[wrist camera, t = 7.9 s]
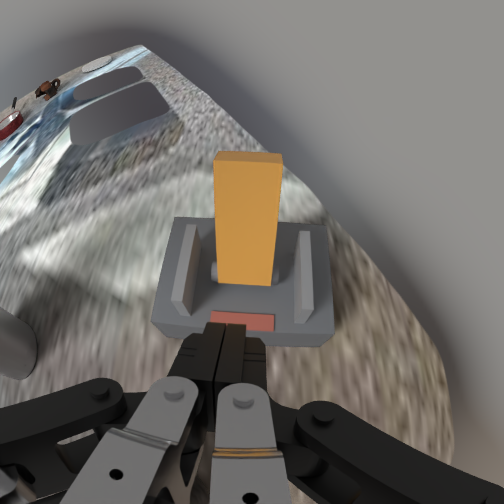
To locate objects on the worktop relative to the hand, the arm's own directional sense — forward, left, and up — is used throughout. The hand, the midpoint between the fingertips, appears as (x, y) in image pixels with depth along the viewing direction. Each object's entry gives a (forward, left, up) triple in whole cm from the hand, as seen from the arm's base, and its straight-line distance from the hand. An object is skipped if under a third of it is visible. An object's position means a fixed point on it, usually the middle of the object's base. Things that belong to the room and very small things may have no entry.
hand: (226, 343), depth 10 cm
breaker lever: (0, +10, -15) cm, 18 cm away
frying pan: (-98, +71, -21) cm, 123 cm away
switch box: (0, +11, -21) cm, 24 cm away
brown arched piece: (-84, +85, -21) cm, 122 cm away
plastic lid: (-73, +108, -21) cm, 132 cm away
